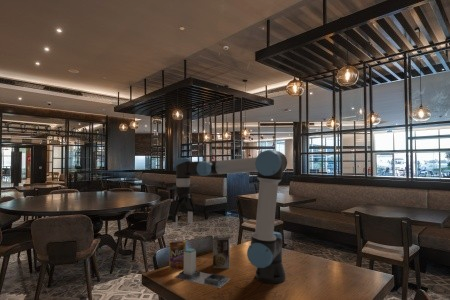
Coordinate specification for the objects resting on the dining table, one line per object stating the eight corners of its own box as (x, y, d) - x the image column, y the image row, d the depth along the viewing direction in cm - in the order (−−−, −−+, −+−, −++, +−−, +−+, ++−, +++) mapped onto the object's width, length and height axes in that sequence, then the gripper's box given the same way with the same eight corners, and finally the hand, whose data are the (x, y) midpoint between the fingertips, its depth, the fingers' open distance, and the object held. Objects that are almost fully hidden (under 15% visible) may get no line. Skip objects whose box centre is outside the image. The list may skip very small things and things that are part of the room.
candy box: (168, 270, 152) (169, 242, 153) (169, 267, 156) (169, 240, 157) (185, 270, 153) (185, 241, 154) (185, 267, 158) (185, 239, 158)
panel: (230, 279, 141) (230, 275, 141) (219, 288, 130) (219, 284, 131) (187, 270, 153) (187, 266, 153) (173, 278, 142) (173, 274, 142)
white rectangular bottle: (195, 274, 146) (195, 249, 147) (190, 277, 142) (191, 251, 143) (187, 272, 149) (187, 247, 149) (182, 275, 145) (182, 250, 145)
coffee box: (229, 265, 161) (230, 236, 162) (228, 269, 154) (229, 239, 155) (214, 264, 162) (214, 236, 163) (212, 268, 155) (212, 239, 156)
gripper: (190, 184, 166) (190, 220, 165) (162, 187, 144) (162, 229, 143) (201, 184, 162) (201, 222, 161) (174, 188, 140) (173, 231, 139)
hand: (182, 225), depth 152 cm, fingers open, 13 cm apart
